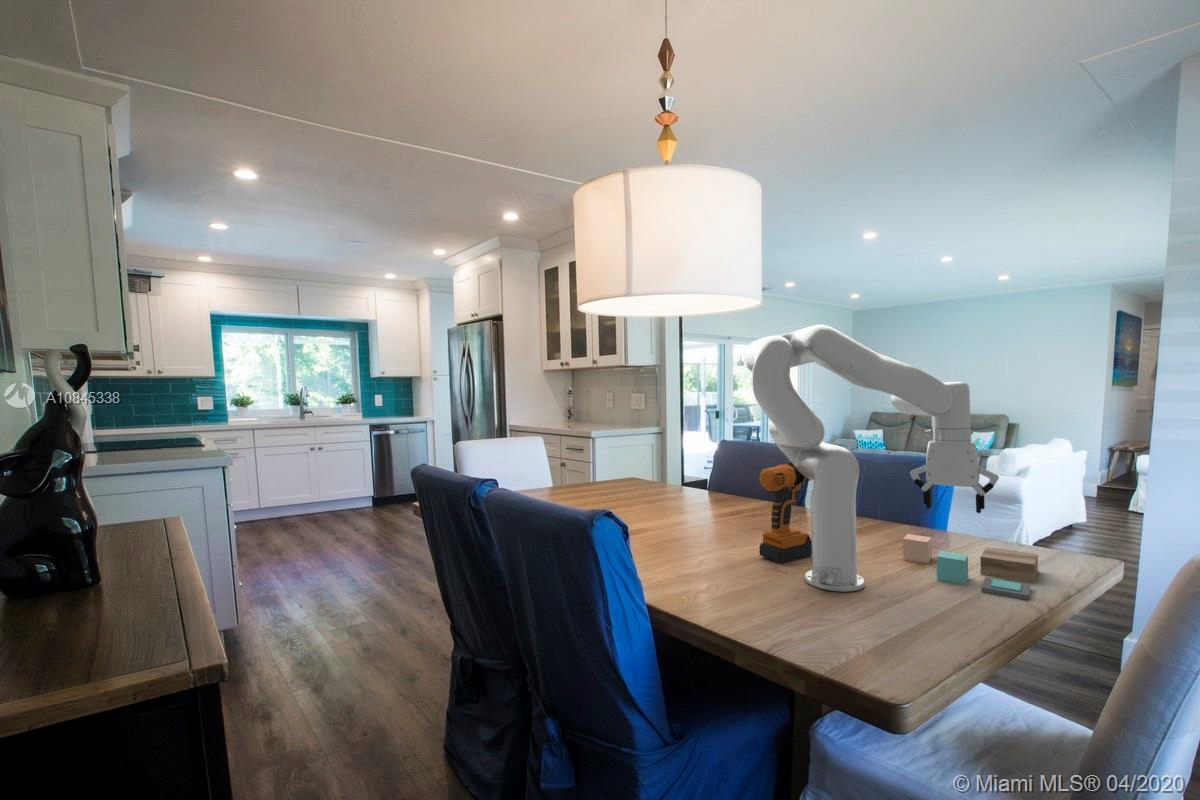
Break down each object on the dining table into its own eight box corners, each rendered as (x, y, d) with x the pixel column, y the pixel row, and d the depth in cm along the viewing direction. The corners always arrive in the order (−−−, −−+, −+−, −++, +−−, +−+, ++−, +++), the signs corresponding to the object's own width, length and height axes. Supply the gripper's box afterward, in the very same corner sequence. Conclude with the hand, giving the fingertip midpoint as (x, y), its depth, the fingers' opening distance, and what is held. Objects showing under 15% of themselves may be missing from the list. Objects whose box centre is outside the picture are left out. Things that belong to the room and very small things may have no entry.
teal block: (965, 585, 122) (965, 560, 122) (936, 580, 126) (936, 556, 126) (968, 578, 126) (968, 554, 126) (940, 573, 130) (940, 550, 130)
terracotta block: (928, 563, 137) (927, 542, 137) (903, 559, 141) (903, 538, 141) (931, 558, 141) (931, 537, 141) (907, 554, 145) (907, 534, 145)
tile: (1029, 600, 112) (1029, 594, 112) (981, 592, 118) (981, 586, 118) (1030, 588, 119) (1029, 582, 119) (985, 581, 124) (985, 575, 124)
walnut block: (1034, 584, 122) (1034, 564, 122) (980, 575, 129) (980, 556, 129) (1037, 573, 129) (1037, 554, 129) (986, 564, 136) (986, 546, 136)
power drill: (807, 545, 155) (805, 457, 155) (830, 551, 149) (828, 460, 149) (753, 559, 144) (751, 464, 144) (776, 566, 138) (774, 467, 137)
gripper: (905, 436, 128) (907, 509, 128) (996, 437, 117) (998, 517, 117) (911, 433, 134) (913, 503, 134) (998, 434, 123) (1001, 510, 123)
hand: (953, 509), depth 126 cm, fingers open, 9 cm apart
